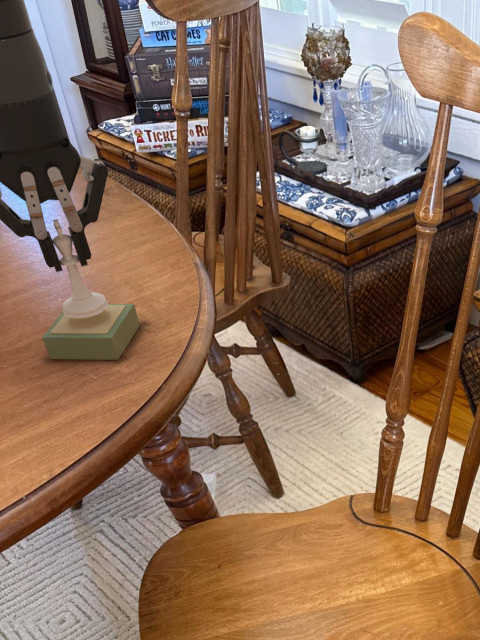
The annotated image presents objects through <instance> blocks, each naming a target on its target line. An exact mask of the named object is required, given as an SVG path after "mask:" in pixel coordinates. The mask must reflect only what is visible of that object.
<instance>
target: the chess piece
mask: <svg viewBox="0 0 480 640" xmlns="http://www.w3.org/2000/svg"><path fill="white" fill-rule="evenodd" d="M52 221H53V226H54V227H53V228H54V229H55V230H56V233H57V235H56V236H54V237H53V238H52V241H53V244H54V247H55V248H56V250H58V252H59V253H60V254H61V256H62V257H61V258H59V261H60V264H61V266H65V267H66V269H67V273H68V277H69V281H70V286H71V294H70V297H68V298H67V299H65V300H64V301H63V303H62V310H63V311H62V312H64V314H65V315H66V316H67V317H70V318H87V317H92V316H95V315H97V314H99V313H101V312H103V311H104V310H105V309H106V308H107V307H108V304H109V302H108V300H107V298H106V296H105V295H104V294H102V293H100V292H95V291H92V290H90V289H88V287H87V284H86V282H84V278H83V277H82V275H81V273H80V271H79V268H78V267H77V264H78V263H80V262H79V258H78V256H77V254H73V241H72V237H71V235H70V234H65V233H64V229H63V228H62V227H61V224H60V222H59V220H58V219H57V218H56V219H52Z"/></svg>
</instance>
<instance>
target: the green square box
mask: <svg viewBox="0 0 480 640" xmlns="http://www.w3.org/2000/svg"><path fill="white" fill-rule="evenodd" d="M140 326H141V323H140V319H139V316H138V312H137V310H136V306H135V304H134V303H108V307H107V308H106V309H105V310H104V311H103V312H101V313H99V314H97V315H95V316H92V317H87V318H70V317H67V316H66V315H65V314H64V312H63V311H62V312H61V313H60V315H58V317H57V319H55V321H54V322H53V323H52V325H50V327H49V328H48V329H47V331H46V332H45V333H44V334H43V336H42V337H41V339H42V341H43V343H44V346H45V348H46V352H47V354H48V356H49V359H50V360H83V361H84V360H90V361H91V360H94V361H96V360H97V361H99V360H101V361H104V360H107V361H119V359H120V358H121V356H122V355H123V353H124V352H125V350H126V349H127V346H128V345H129V344H130V342H131V340H132V339H133V337H134V336H135V334H136V333H137V331H138V329H139V328H140Z"/></svg>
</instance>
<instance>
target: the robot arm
mask: <svg viewBox="0 0 480 640" xmlns="http://www.w3.org/2000/svg"><path fill="white" fill-rule="evenodd" d="M43 53H44V52H43V51H42V48H41V46H40V44H39V42H38V40H37V37H36V34H35V32H34V28H33V26H32V23H31V19H30V16H29V11H28V8H27V5H26V3H25V0H0V184H1V185H3V186H5V188H7V189H8V190H10V191H11V192H12V193H13V194H14V195H16V196H17V197H18V198H20V199H21V200H22V201H24V202H25V206H26V208H27V212H28V216H29V219H24V218H23V217H21V216H20V215H18V213H17V212H15V210H13V208H12V207H10V205H8V204H7V203H6V202H5V201H4V200H3V199H2V196H3V194H2V190H1V189H0V221H1V222H2V223H3V224H4V225H5V227H7V228H8V229H9V230H11V232H12V233H14V234H15V235H16V236H17V237H19V238H25V237H32V238H34V239H35V240H36V241H37V243H38V245H39V248H40V251H41V253H42V256H43V259H44V262H45V264H46V266H47V267H48V268H49V269H51V268H54V270H55V272H56V273H59V272H63V271H64V270H63V267H62V265H61V264H60V261H59V260H60V258H59V255H58V252H57V249H56V246H55V245H54V243H53V241H52V240H53V238H52V235H51V233H50V231H48V229H47V226H46V222H45V219H44V214H43V210H42V209H43V208H42V206H41V205H42V204H44V203H45V202H48V201H58V202H59V204H60V207H61V209H62V211H63V214H64V215H65V218H66V220H67V223H68V227H67V229H68V231H69V235H70V236H71V237H72V245H73V247H74V250H75V253H76V256H78V258H79V262H78V263H79V264H80V266H81V267H86V266H89V263H88V260H91V259H92V251H91V249H90V246H89V242H88V240H87V236H86V233H85V228H86V227H87V226H88V225H90V224H94V223H96V222H98V220H99V216H100V211H101V208H102V207H101V206H102V203H103V197H104V192H105V189H106V184H107V180H108V176H109V175H108V174H109V170H108V167H107V166H106V164H105V163H104V161H103V160H102V159H101V158H97V157H96V158H94V159H91V158H88V157H85V156H82V155H80V153H79V151H78V150H77V149H76V148H75V146H74V145H73V144H72V143H71V140H70V137H69V133H68V131H67V127H66V123H65V120H64V118H63V113H62V111H61V108H60V104H59V100H58V98H57V95H56V91H55V88H54V84H53V78H52V74H51V73H50V71H49V68H48V65H47V61H46V58H45V56H44V54H43ZM79 169H81V170H82V175H83V177H84V179H85V181H86V182H87V183H86V189H85V193H84V197H83V203H82V207H81V208H80V209H78V210H77V209H76V206H75V204H74V201H73V199H72V197H71V194H70V193H71V191H72V189H73V186H74V183H75V180H76V178H77V175H78V172H79Z"/></svg>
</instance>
